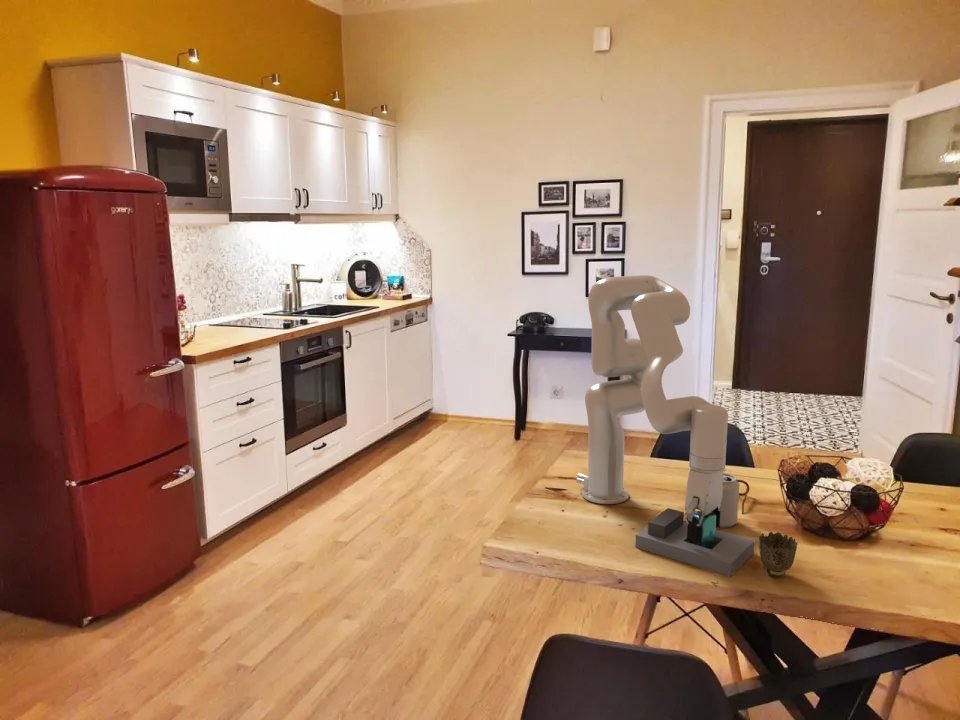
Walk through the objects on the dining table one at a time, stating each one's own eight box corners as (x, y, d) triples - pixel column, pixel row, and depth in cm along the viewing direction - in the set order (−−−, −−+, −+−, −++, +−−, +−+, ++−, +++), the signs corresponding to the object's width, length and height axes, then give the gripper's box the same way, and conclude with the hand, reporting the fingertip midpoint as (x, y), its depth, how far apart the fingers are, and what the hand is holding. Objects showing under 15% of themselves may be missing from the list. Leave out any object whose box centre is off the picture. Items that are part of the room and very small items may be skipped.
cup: (772, 585, 144) (774, 549, 143) (749, 569, 151) (751, 534, 150) (802, 580, 147) (805, 544, 145) (778, 564, 153) (781, 529, 152)
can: (739, 530, 170) (742, 483, 168) (706, 527, 172) (709, 481, 169) (734, 517, 177) (737, 471, 175) (703, 515, 179) (706, 470, 176)
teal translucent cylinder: (687, 553, 159) (688, 515, 157) (696, 545, 163) (698, 508, 161) (708, 559, 156) (710, 521, 154) (717, 551, 159) (719, 513, 158)
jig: (635, 546, 162) (636, 522, 161) (663, 526, 173) (664, 503, 171) (729, 577, 148) (731, 550, 147) (753, 552, 159) (755, 527, 157)
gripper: (706, 447, 164) (703, 516, 167) (673, 468, 151) (670, 542, 154) (739, 454, 159) (734, 525, 162) (707, 476, 146) (703, 552, 149)
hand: (703, 533), depth 158 cm, fingers open, 9 cm apart
